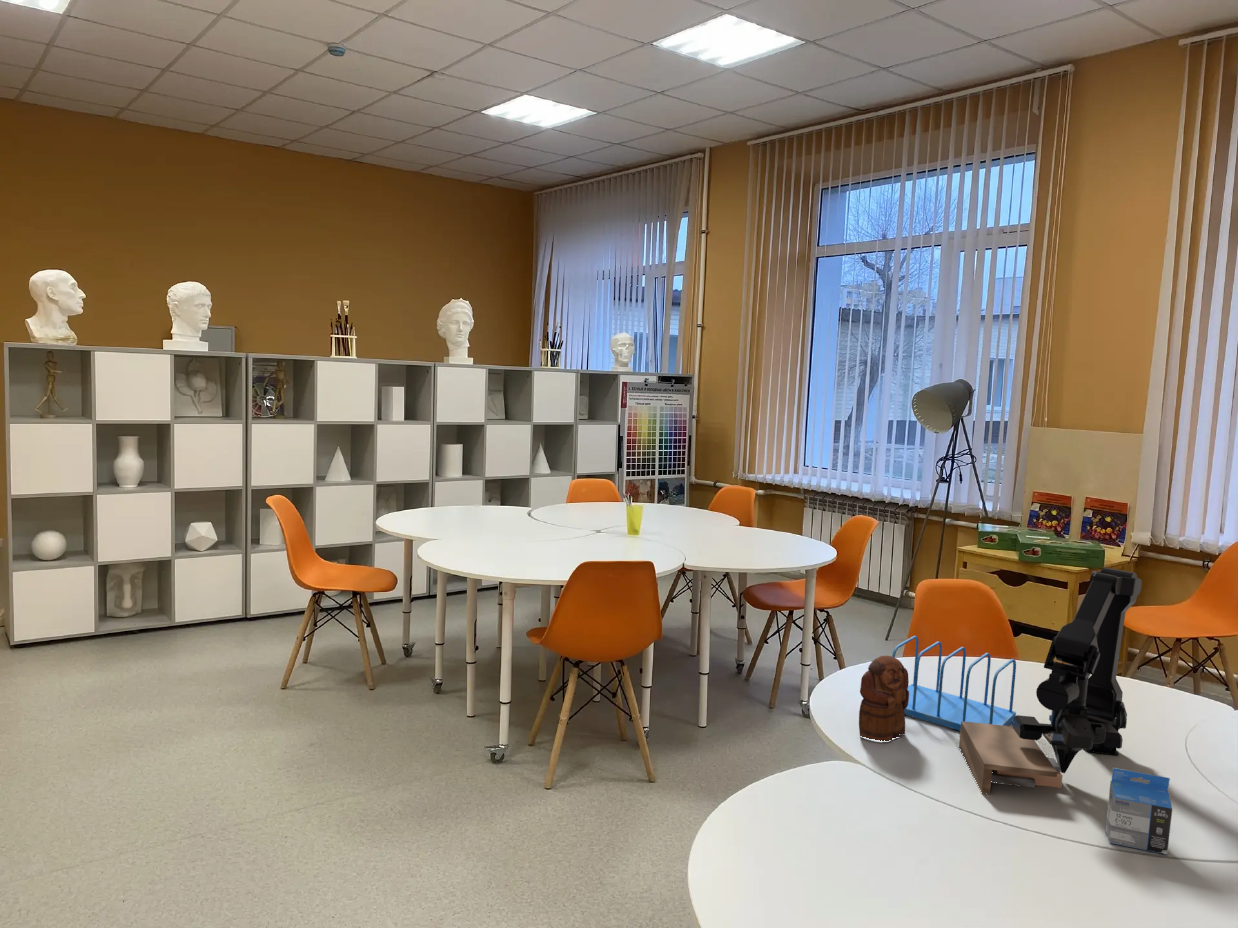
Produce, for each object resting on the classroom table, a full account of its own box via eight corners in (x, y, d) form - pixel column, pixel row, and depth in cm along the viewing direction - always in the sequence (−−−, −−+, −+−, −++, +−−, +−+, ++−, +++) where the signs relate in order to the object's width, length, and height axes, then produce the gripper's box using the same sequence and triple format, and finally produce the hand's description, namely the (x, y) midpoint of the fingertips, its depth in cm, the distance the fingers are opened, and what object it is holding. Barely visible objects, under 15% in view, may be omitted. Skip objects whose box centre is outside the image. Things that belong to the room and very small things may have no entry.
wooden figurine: (877, 747, 180) (884, 666, 178) (853, 736, 186) (859, 657, 183) (911, 735, 187) (918, 656, 185) (887, 724, 192) (894, 648, 190)
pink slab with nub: (1049, 770, 173) (1051, 754, 172) (1061, 787, 166) (1063, 770, 165) (987, 764, 175) (988, 748, 174) (996, 780, 168) (998, 763, 167)
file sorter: (1015, 719, 199) (1022, 656, 197) (993, 742, 185) (999, 675, 183) (911, 689, 214) (915, 631, 213) (883, 709, 201) (888, 647, 199)
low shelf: (1023, 754, 180) (1025, 727, 179) (1053, 801, 160) (1057, 771, 159) (958, 747, 182) (961, 720, 181) (981, 793, 162) (984, 763, 162)
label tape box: (1108, 843, 146) (1116, 776, 145) (1104, 831, 150) (1111, 766, 149) (1167, 856, 143) (1175, 787, 142) (1162, 843, 147) (1170, 776, 146)
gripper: (1032, 708, 161) (1024, 786, 162) (1138, 718, 158) (1130, 797, 159) (1014, 686, 172) (1008, 760, 173) (1114, 695, 168) (1106, 770, 170)
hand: (1062, 772), depth 169 cm, fingers closed
